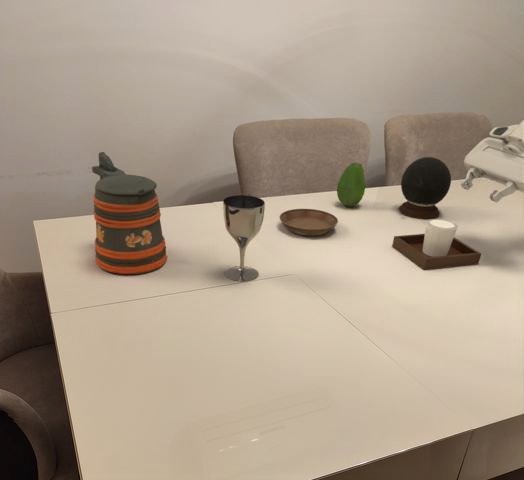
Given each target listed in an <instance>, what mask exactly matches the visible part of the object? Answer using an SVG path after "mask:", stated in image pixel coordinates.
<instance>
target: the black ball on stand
mask: <svg viewBox="0 0 524 480" xmlns="http://www.w3.org/2000/svg"><path fill="white" fill-rule="evenodd" d="M400 182H401V183H400V189H401V192H402V195H403V197H404V198H405V200H406V201H405V202H402V203H401V205H400V206H399V208H398V211H399V213H400V214H402V215H403V216H405V217H409V218H413V219H419V220H430V219H438V218H439V216H440V214H441V213H440V210H439V207H438V206H436V205H437V204H438V203H441V201H442V200H444V198H445V197H447V195H448V193H449V191H450V189H451V185H452V174H451V172H450V169H449V167H448V166H447V165H446V163H445V162H443V161H442V160H441V159H439V158H437V157H433V156H426V157H425V156H424V157H421V158H418V159H416V160H414V161H412V163H410V164H409V165H408V166H407V168H405V170H404V172H403V173H402V176H401V181H400Z"/></svg>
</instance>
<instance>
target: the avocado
mask: <svg viewBox="0 0 524 480" xmlns="http://www.w3.org/2000/svg"><path fill="white" fill-rule="evenodd" d="M365 179H366V178H365V172H364V168H363V166H362V164H361V163H358V162H352V163H351V164H349V165H348V166H347V167H346V168H345V169H344V170H343V172H342V174H341V176H340V178H339V180H338V182H337V186H336V194H337V198H338V201H339V202H340V204H342V205H343V206H345V207H348V208H352V207H355V206H357V205H358V204H359V203H360V202H361V201H362V200H363V197H364V195H365V191H366V181H365Z"/></svg>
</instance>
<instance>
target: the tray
mask: <svg viewBox="0 0 524 480" xmlns="http://www.w3.org/2000/svg"><path fill="white" fill-rule="evenodd" d="M424 236H425V233H418V234H417V233H416V234H405V235H395V236H393V239H392V245H391V247H392V248H394V249H395V250H396V251H398V253H401V254H402V255H403V256H404V257H406V258H407V259H408V260H409V261H411V262H412V263H414V264H415V265H416V266H418V267H419V268H421V269H422V270H423V271H426V270H427V271H429V270H436V269H444V268H445V269H447V268H455V267H465V266H476V265H479V264H480V260H481V258H482V252H480V251H478V250H476V249H475V248H473V247H471V246H470V245H468V244H467V243H465V242H464V241H462V240H460V239H458V238H456V237H455V236H454V238H453V240H452V243H451V246H450V248H449V251H448V254H447V256H438V257H432V256H428V255H426V254H424V253H423V252H422V251H423V243H424Z"/></svg>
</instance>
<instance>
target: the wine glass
mask: <svg viewBox="0 0 524 480" xmlns="http://www.w3.org/2000/svg"><path fill="white" fill-rule="evenodd" d="M265 206H266V202H265V201H264V200H263V199H262V198H260V197H257V196H254V195H253V196H252V195H242V194H241V195H238V194H237V195H231V196H228V197H225V198H224V199H223V201H222V210H223V211H222V213H223V223H224V226H225V229H226V231H227V232H228V235H230V237H231V238H232V239H233V240H234V241H235V243H236V244H237V246H238V249H239V258H240V259H239V265H234V266H231V267H228V268H226V269H225V271H224V276H225V277H226V278H228V279H230V280H233V281H236V282H248V281H253V280H256V279H257V278H258V277H259V276H260V273H259V271H258V270H257V269H255V268H254V267H250V266H246V265H245V256H246V250H247V247H248V245H249V244H250V242H251V241H253V239H255V237H257V235H258V234H259V233H260V231H261V229H262V225H263V222H264V217H265V210H266V209H265Z"/></svg>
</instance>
